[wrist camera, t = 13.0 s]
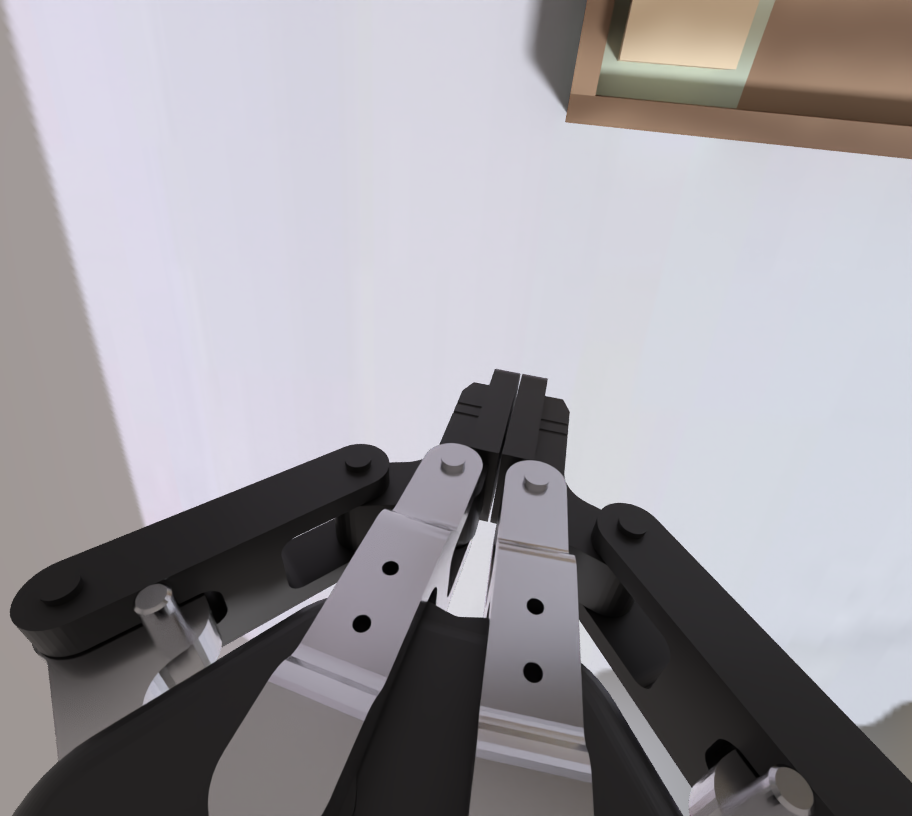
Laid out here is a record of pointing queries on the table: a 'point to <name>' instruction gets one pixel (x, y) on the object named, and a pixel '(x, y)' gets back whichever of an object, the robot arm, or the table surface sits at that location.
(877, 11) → the box
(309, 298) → the table surface
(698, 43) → the beech block
